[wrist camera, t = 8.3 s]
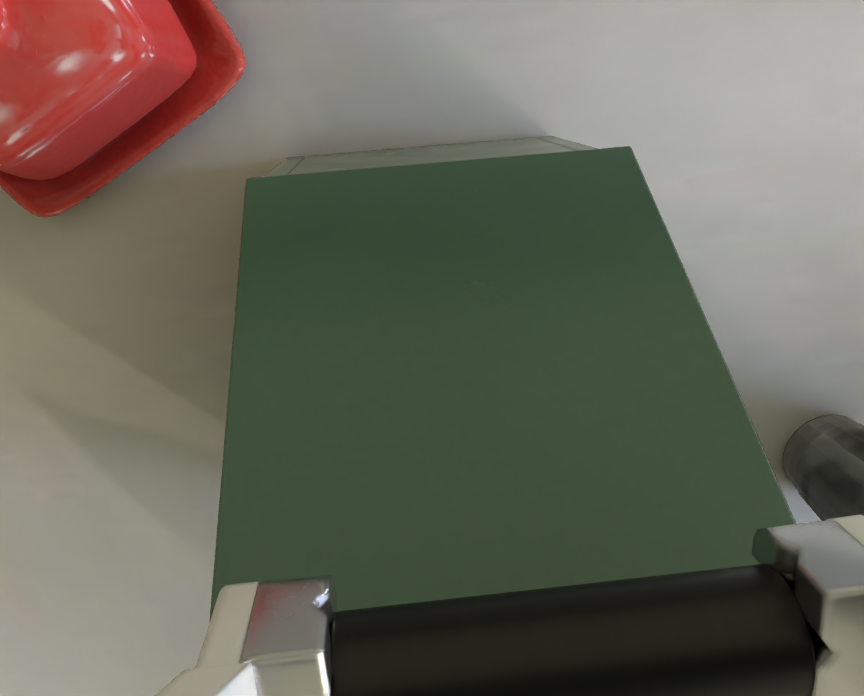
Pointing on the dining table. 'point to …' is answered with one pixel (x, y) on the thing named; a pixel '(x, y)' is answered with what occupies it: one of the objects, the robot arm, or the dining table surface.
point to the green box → (424, 155)
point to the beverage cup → (828, 466)
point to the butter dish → (101, 89)
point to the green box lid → (499, 437)
